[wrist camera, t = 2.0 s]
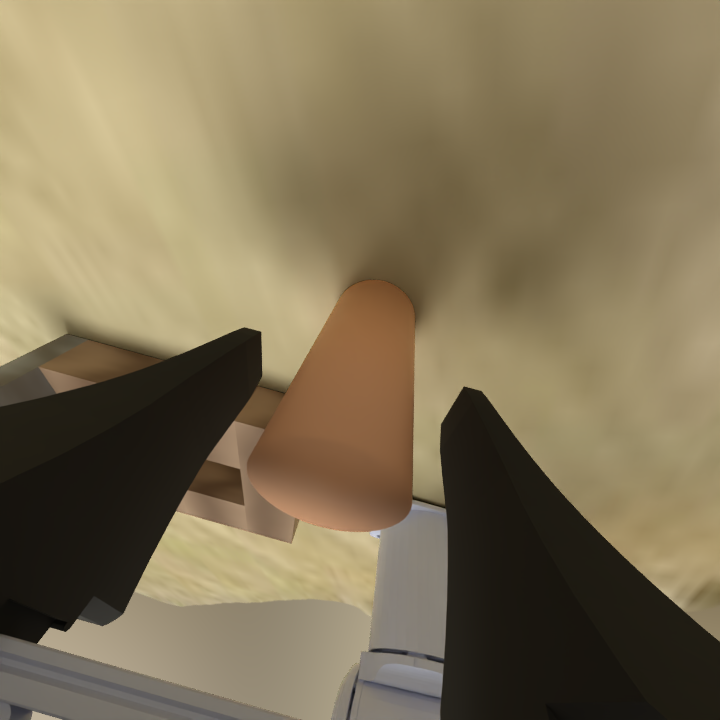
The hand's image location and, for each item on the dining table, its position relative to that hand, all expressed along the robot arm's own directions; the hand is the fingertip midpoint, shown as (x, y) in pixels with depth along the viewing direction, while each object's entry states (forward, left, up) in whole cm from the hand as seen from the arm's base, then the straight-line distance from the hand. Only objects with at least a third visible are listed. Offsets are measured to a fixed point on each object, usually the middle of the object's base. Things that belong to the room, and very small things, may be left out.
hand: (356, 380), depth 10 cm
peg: (0, 0, -5) cm, 5 cm away
